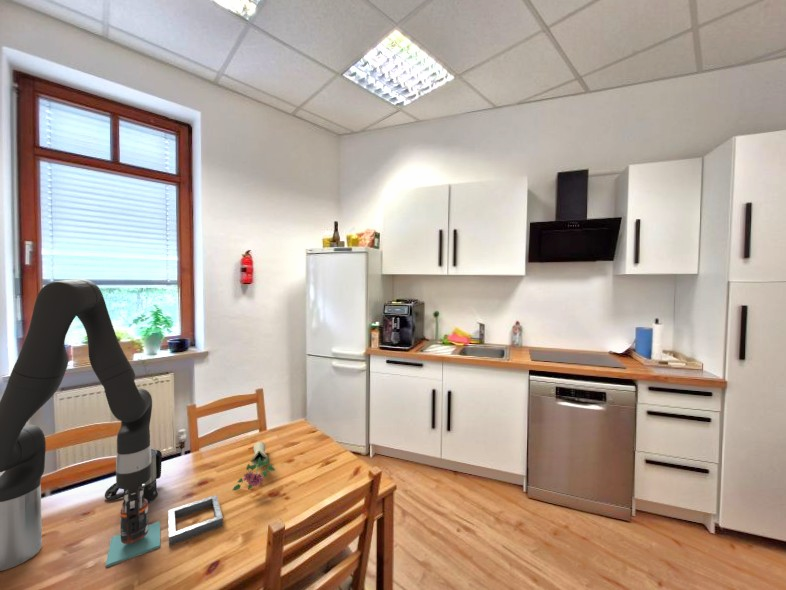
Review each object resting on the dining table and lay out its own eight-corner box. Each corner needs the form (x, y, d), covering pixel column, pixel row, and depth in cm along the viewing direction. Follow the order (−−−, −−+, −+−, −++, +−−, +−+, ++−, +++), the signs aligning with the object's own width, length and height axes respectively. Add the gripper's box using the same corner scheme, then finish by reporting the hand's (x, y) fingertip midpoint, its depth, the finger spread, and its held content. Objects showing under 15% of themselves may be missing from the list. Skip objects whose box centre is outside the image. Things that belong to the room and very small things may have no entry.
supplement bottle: (154, 530, 90) (153, 490, 90) (133, 547, 85) (132, 504, 84) (136, 527, 92) (136, 487, 92) (114, 543, 86) (114, 501, 86)
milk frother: (152, 505, 104) (152, 459, 103) (90, 518, 98) (89, 469, 98) (165, 481, 117) (164, 440, 117) (110, 490, 111) (110, 448, 111)
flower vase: (267, 471, 136) (269, 503, 104) (237, 467, 133) (229, 499, 101) (276, 441, 140) (280, 464, 108) (247, 437, 136) (242, 458, 104)
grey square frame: (168, 546, 87) (168, 537, 87) (168, 518, 98) (168, 510, 98) (222, 526, 95) (222, 517, 95) (216, 502, 105) (216, 494, 105)
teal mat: (105, 567, 81) (105, 565, 81) (111, 539, 90) (111, 537, 90) (159, 547, 87) (159, 545, 87) (160, 523, 96) (160, 521, 96)
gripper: (150, 472, 84) (151, 536, 84) (152, 449, 96) (152, 505, 96) (112, 482, 80) (113, 549, 80) (119, 457, 92) (120, 515, 92)
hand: (134, 525), depth 88 cm, fingers closed on supplement bottle, 6 cm apart
